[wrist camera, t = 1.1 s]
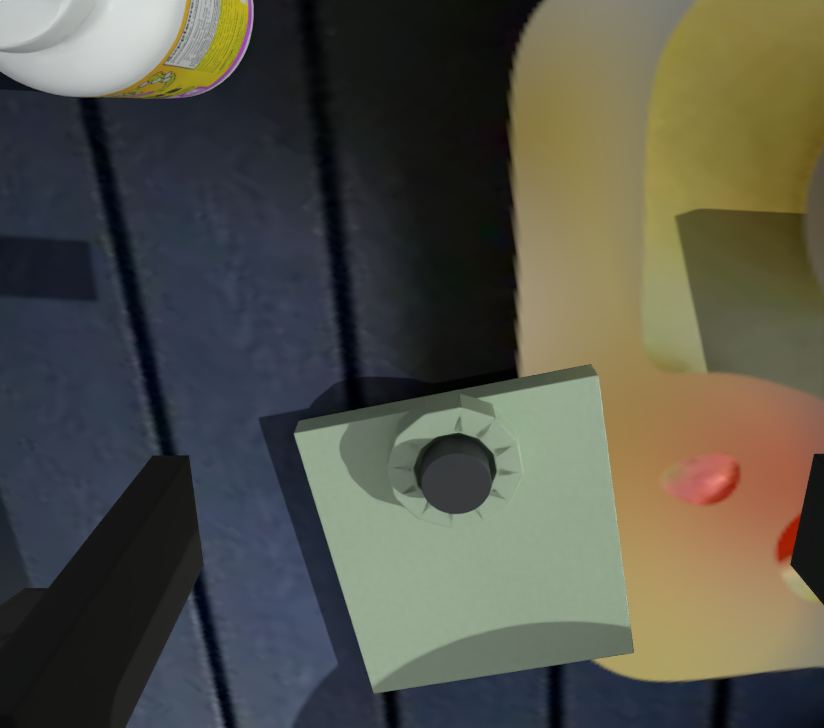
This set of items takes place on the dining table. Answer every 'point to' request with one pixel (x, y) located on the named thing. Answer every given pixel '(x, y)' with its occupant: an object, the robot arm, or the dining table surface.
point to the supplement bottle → (123, 45)
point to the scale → (474, 531)
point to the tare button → (455, 475)
